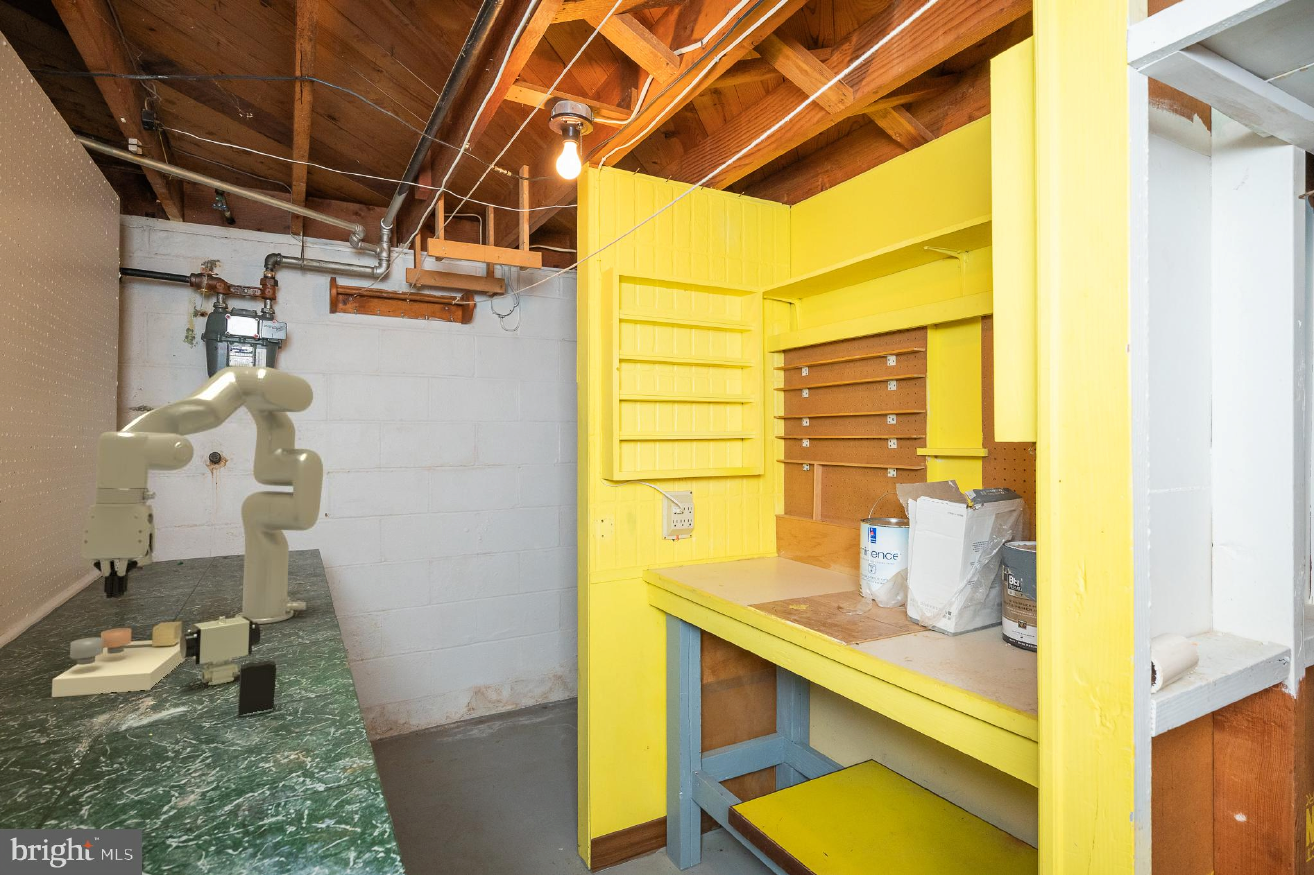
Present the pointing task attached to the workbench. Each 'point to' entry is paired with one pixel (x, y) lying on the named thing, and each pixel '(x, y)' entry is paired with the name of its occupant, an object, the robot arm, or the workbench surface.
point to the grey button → (86, 649)
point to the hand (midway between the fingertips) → (115, 596)
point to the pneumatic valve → (219, 646)
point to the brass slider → (166, 633)
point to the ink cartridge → (256, 687)
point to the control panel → (120, 670)
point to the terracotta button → (116, 639)
